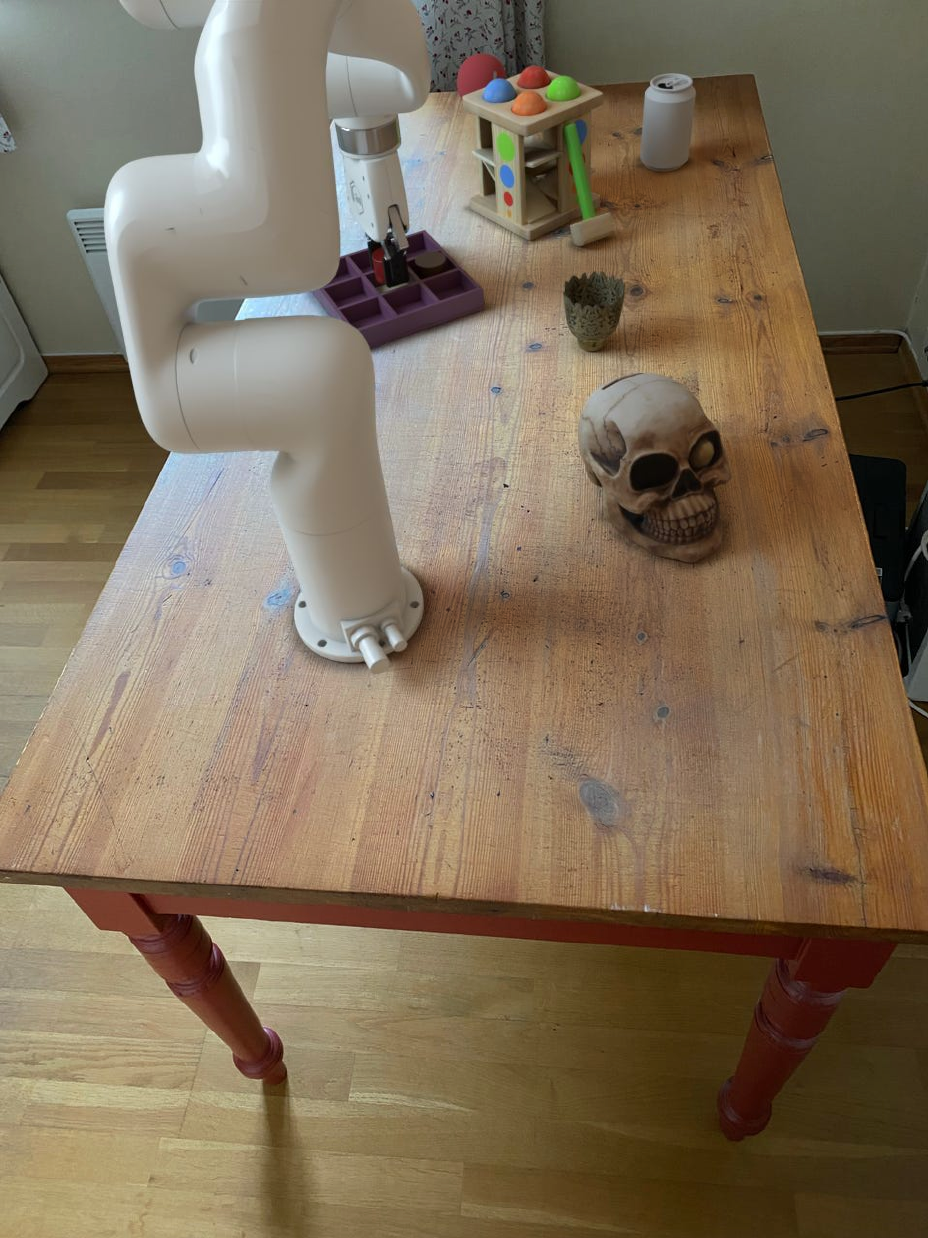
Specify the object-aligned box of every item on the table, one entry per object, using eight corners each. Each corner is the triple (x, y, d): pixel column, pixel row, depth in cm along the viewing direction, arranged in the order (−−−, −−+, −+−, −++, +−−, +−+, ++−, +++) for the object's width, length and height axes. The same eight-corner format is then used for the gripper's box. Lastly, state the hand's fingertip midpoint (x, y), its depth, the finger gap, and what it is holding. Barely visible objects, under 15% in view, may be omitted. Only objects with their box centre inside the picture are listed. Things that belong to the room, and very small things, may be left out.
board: (484, 309, 119) (483, 288, 116) (356, 353, 115) (352, 333, 112) (427, 249, 130) (424, 229, 127) (308, 287, 126) (303, 267, 123)
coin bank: (706, 571, 86) (712, 459, 77) (547, 531, 94) (534, 425, 85) (756, 476, 95) (768, 365, 86) (606, 447, 103) (601, 342, 93)
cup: (618, 364, 109) (622, 305, 103) (558, 361, 110) (559, 302, 104) (624, 329, 113) (628, 271, 107) (566, 326, 115) (567, 268, 108)
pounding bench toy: (642, 226, 129) (652, 92, 115) (568, 263, 124) (570, 128, 110) (538, 176, 141) (537, 49, 127) (468, 208, 136) (458, 80, 123)
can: (630, 160, 142) (636, 77, 133) (670, 148, 144) (678, 65, 135) (656, 178, 138) (664, 94, 128) (697, 165, 139) (707, 81, 130)
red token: (411, 278, 119) (408, 255, 116) (382, 287, 118) (379, 265, 116) (399, 264, 121) (395, 242, 119) (370, 273, 120) (367, 251, 118)
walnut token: (452, 283, 122) (450, 261, 120) (425, 292, 121) (422, 270, 119) (440, 269, 125) (437, 248, 122) (412, 278, 124) (410, 257, 121)
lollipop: (457, 165, 146) (448, 63, 134) (470, 144, 150) (463, 44, 139) (502, 168, 144) (497, 65, 132) (514, 147, 148) (511, 45, 137)
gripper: (315, 116, 110) (342, 256, 124) (365, 168, 100) (389, 313, 114) (370, 101, 111) (391, 240, 125) (426, 150, 101) (442, 295, 115)
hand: (390, 274), depth 119 cm, fingers closed on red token, 4 cm apart
